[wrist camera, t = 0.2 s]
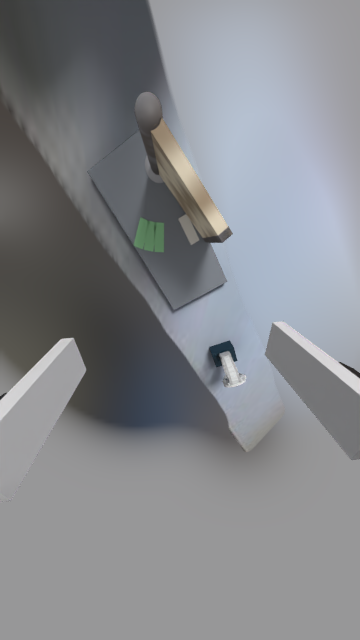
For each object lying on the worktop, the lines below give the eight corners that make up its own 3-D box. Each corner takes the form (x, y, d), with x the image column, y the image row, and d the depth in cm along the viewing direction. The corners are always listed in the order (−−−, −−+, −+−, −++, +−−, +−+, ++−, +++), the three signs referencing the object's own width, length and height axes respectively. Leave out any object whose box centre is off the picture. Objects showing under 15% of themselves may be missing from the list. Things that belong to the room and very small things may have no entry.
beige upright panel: (146, 163, 27) (128, 108, 16) (158, 149, 26) (148, 83, 15) (203, 244, 32) (218, 245, 21) (214, 234, 31) (236, 230, 21)
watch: (215, 364, 47) (226, 397, 37) (207, 341, 44) (217, 371, 34) (235, 358, 46) (252, 390, 36) (228, 334, 43) (245, 362, 33)
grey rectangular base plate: (91, 174, 29) (86, 171, 27) (155, 124, 26) (154, 117, 25) (174, 308, 39) (174, 310, 38) (225, 280, 37) (227, 281, 36)
